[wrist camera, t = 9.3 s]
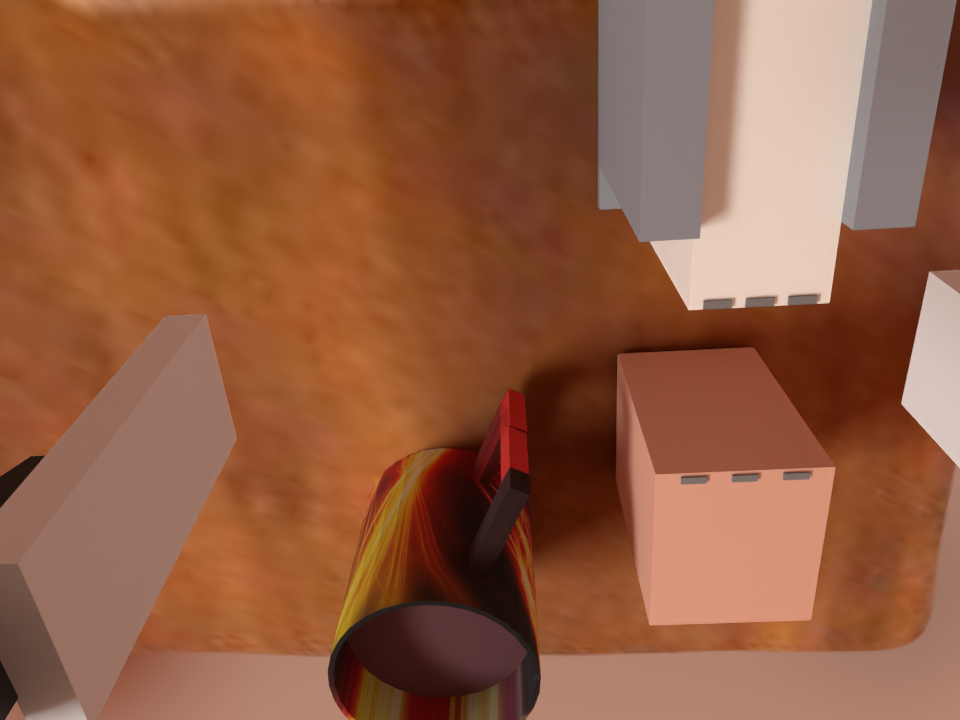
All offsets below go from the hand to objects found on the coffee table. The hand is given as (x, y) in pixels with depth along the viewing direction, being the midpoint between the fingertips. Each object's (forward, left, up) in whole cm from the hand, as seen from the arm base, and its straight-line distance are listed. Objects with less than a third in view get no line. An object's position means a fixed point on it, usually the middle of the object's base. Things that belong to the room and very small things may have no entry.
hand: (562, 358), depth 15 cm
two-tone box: (-2, +8, -24) cm, 26 cm away
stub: (+16, +8, -24) cm, 30 cm away
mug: (+20, -5, -25) cm, 32 cm away
